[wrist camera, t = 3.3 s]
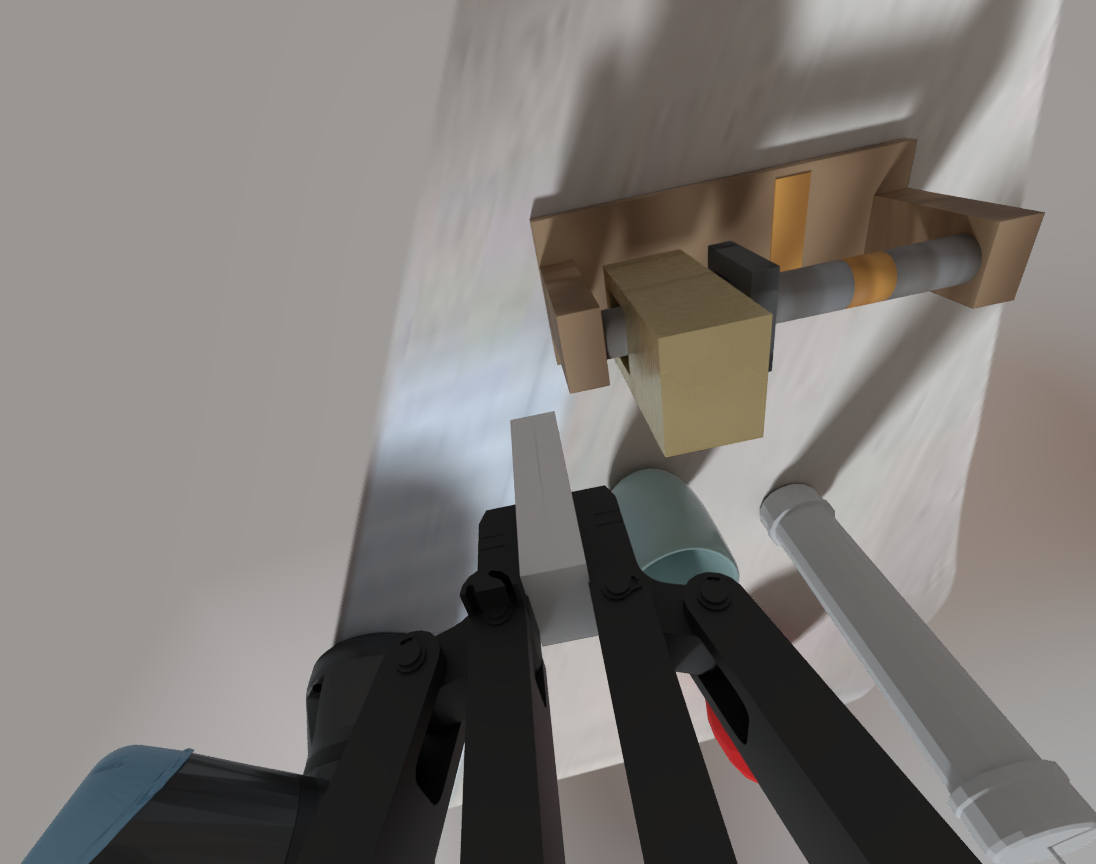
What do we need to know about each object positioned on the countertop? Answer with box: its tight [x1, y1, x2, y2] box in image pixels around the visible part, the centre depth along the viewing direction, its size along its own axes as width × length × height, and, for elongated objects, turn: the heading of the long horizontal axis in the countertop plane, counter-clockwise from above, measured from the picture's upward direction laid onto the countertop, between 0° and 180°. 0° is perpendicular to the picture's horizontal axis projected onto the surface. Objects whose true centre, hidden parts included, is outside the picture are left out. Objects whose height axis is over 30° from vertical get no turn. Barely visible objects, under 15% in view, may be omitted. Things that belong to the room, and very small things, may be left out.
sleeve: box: [603, 249, 773, 458], centre depth 22 cm, size 4×5×10 cm
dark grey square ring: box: [708, 241, 780, 372], centre depth 24 cm, size 1×5×5 cm, turn 11°
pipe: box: [760, 484, 1096, 864], centre depth 31 cm, size 6×6×30 cm
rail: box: [530, 138, 1045, 394], centre depth 27 cm, size 22×9×10 cm, turn 100°
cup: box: [611, 468, 739, 585], centre depth 37 cm, size 8×8×10 cm
